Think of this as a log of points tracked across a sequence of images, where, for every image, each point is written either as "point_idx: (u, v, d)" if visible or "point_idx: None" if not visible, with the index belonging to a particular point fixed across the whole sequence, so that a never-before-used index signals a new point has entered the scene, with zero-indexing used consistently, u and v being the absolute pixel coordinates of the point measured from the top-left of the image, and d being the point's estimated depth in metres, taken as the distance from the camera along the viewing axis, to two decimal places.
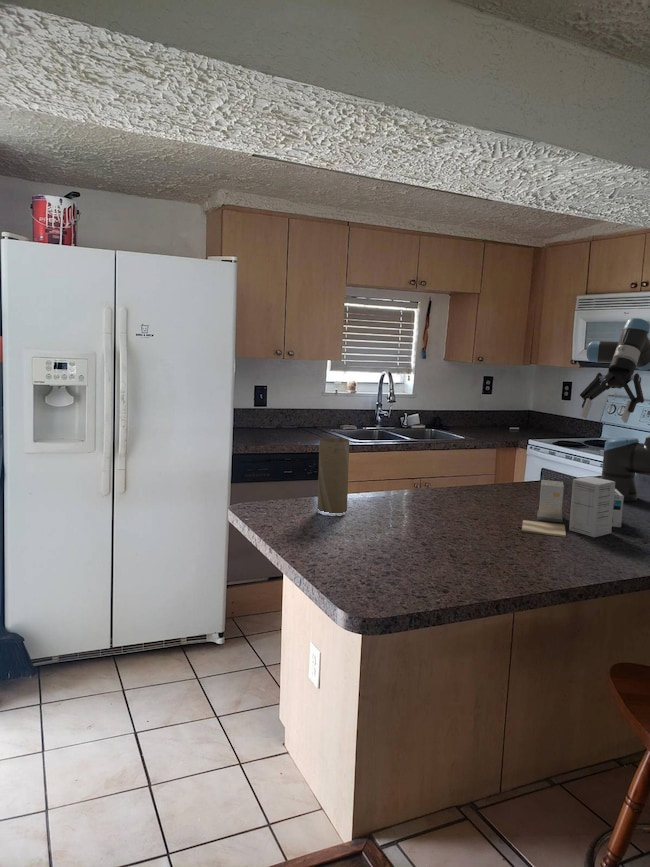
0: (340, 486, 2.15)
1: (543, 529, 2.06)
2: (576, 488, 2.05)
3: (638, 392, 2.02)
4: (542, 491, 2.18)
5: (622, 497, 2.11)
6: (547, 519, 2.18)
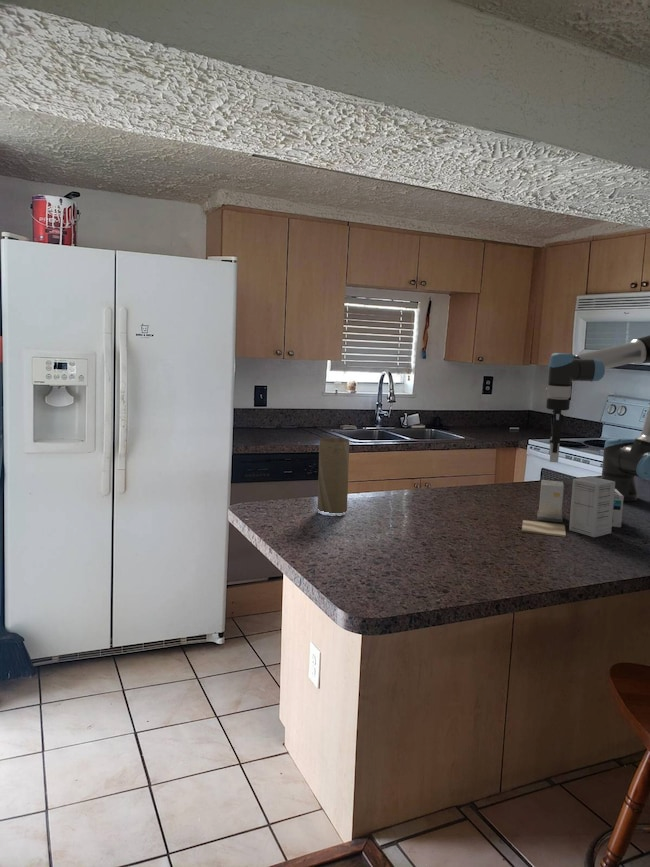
0: (340, 486, 2.15)
1: (543, 529, 2.06)
2: (575, 488, 2.05)
3: (552, 434, 2.19)
4: (542, 491, 2.18)
5: (622, 497, 2.11)
6: (547, 519, 2.18)
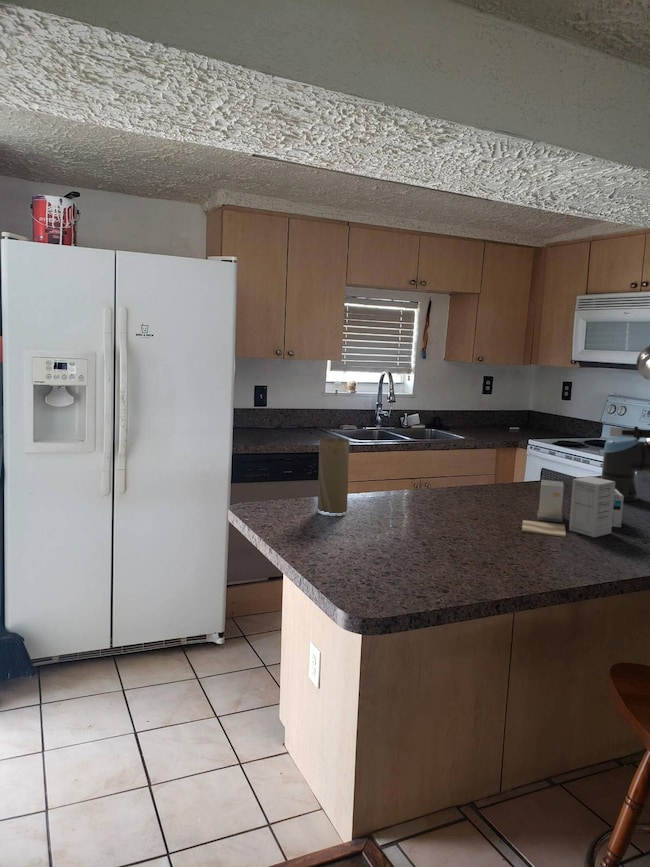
0: (340, 486, 2.15)
1: (543, 529, 2.06)
2: (576, 488, 2.05)
3: None
4: (542, 491, 2.18)
5: (622, 497, 2.11)
6: (547, 519, 2.18)
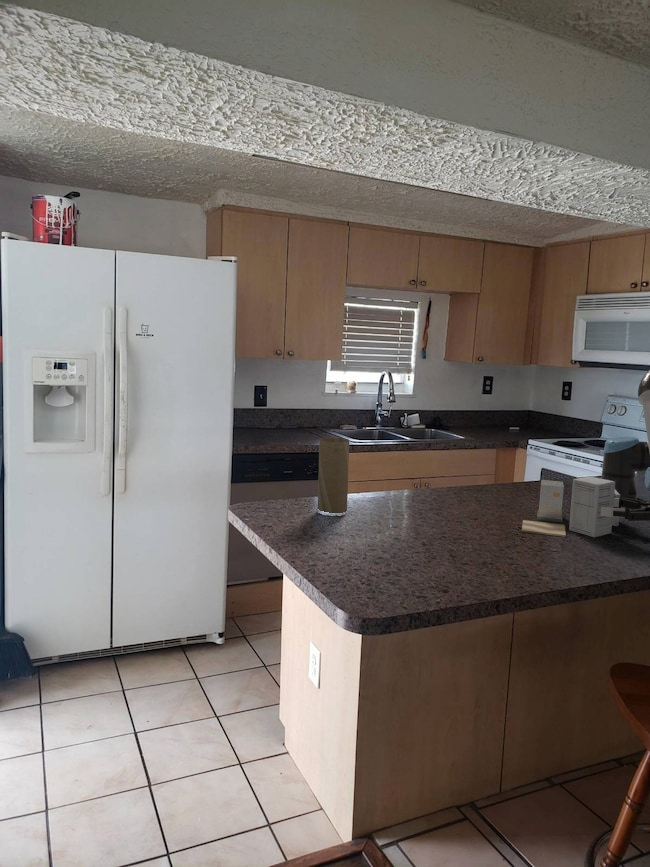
0: (340, 486, 2.15)
1: (543, 529, 2.06)
2: (575, 488, 2.05)
3: None
4: (542, 491, 2.18)
5: (619, 496, 2.12)
6: (547, 519, 2.18)
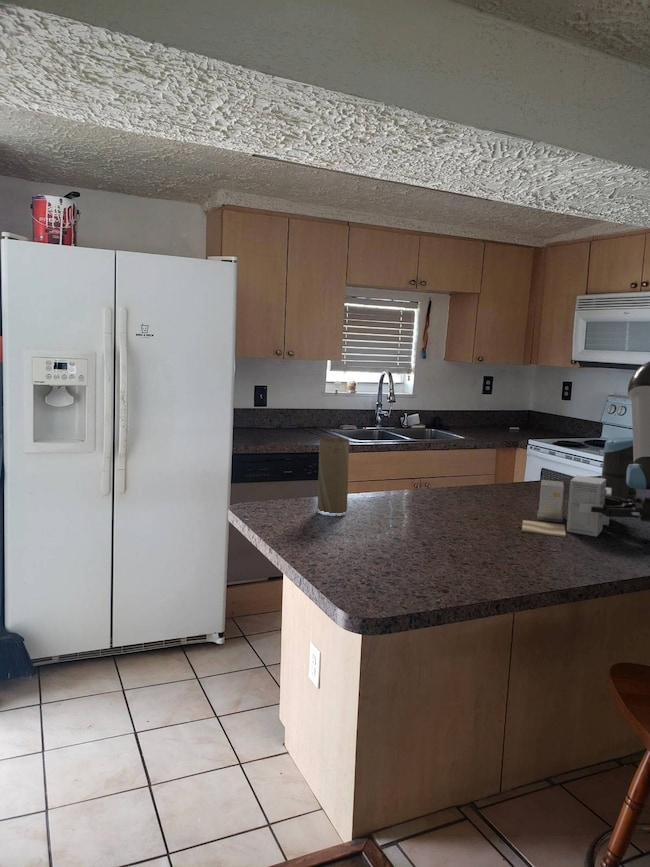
0: (340, 486, 2.15)
1: (543, 529, 2.06)
2: (574, 489, 2.04)
3: None
4: (542, 491, 2.18)
5: (609, 495, 2.13)
6: (547, 519, 2.18)
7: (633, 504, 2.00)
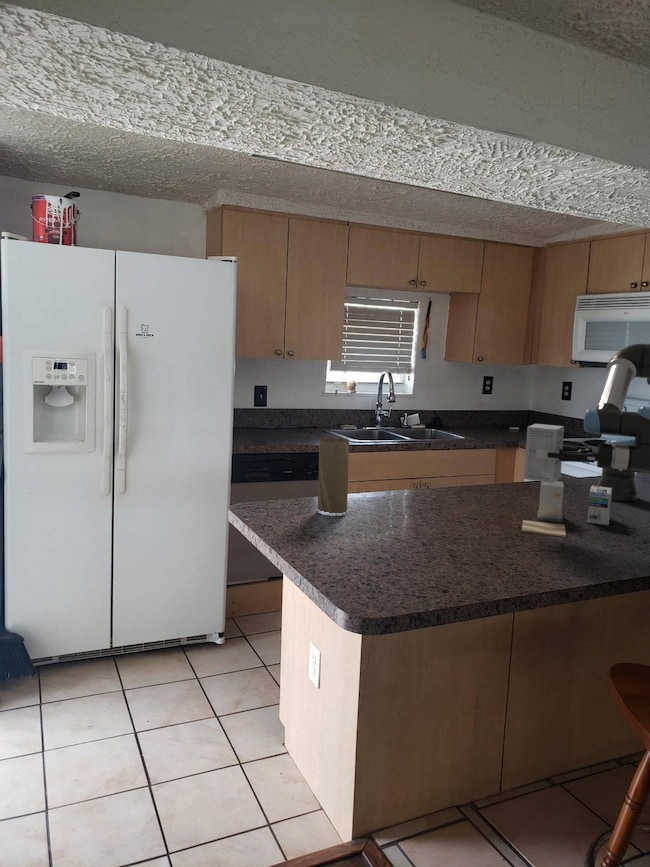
0: (340, 486, 2.15)
1: (543, 529, 2.06)
2: (531, 436, 2.02)
3: None
4: (542, 491, 2.18)
5: (609, 495, 2.13)
6: (547, 519, 2.18)
7: (590, 450, 1.99)
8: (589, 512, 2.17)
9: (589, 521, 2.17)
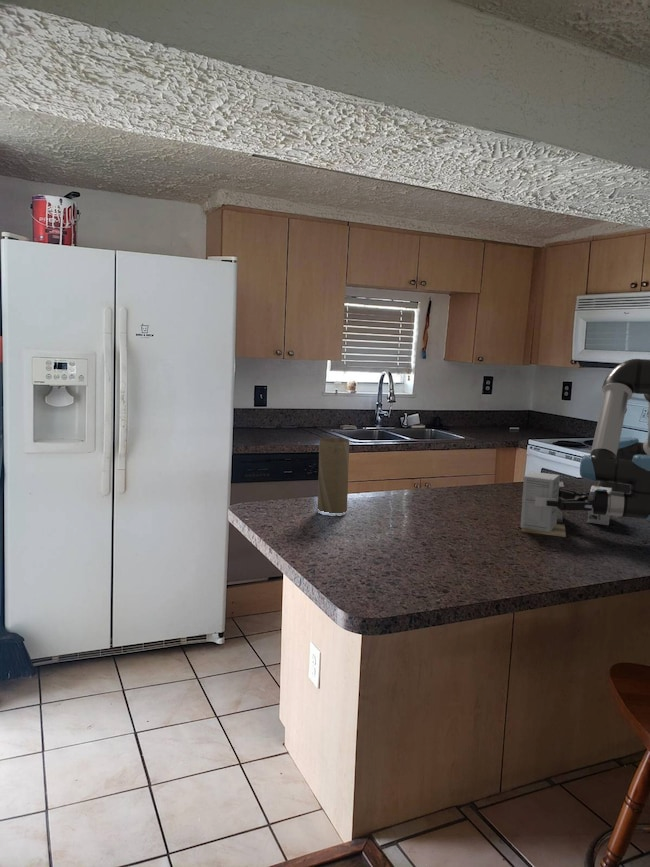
0: (340, 486, 2.15)
1: None
2: (527, 485, 2.05)
3: None
4: None
5: None
6: None
7: (586, 497, 2.02)
8: (589, 512, 2.17)
9: (589, 521, 2.17)
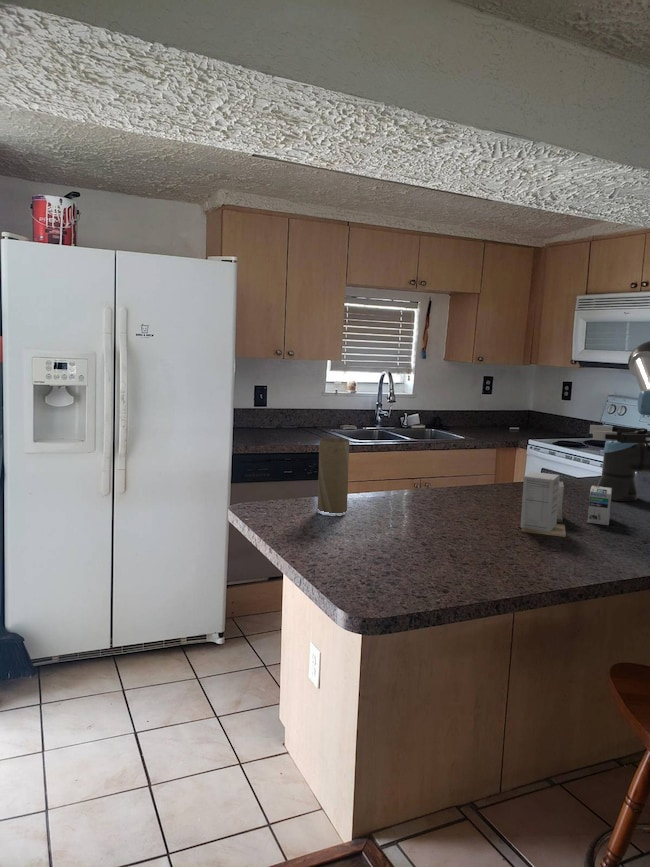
0: (340, 486, 2.15)
1: None
2: (527, 485, 2.05)
3: None
4: None
5: (609, 495, 2.13)
6: None
7: (645, 431, 1.96)
8: (589, 512, 2.17)
9: (589, 521, 2.17)
